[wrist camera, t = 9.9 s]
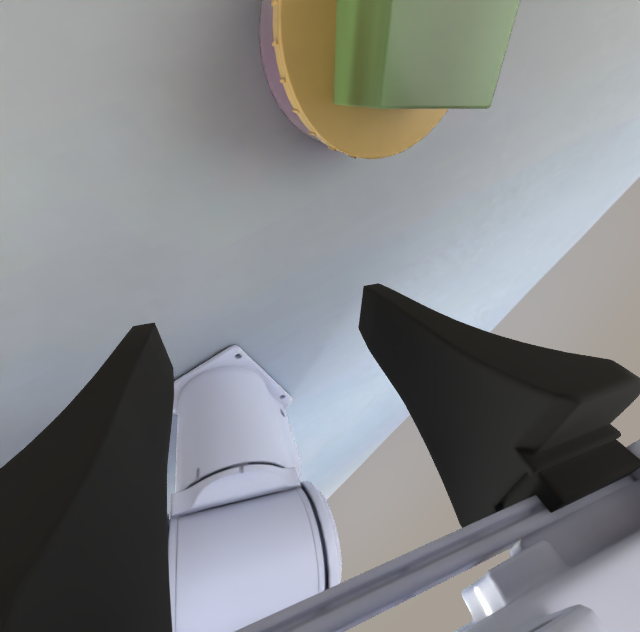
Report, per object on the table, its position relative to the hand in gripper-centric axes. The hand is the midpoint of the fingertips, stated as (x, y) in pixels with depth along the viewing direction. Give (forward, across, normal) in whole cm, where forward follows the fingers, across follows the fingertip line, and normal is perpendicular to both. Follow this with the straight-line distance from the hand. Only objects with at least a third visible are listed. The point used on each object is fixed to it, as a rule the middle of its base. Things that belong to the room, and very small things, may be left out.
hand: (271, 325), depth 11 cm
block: (+6, -6, -8) cm, 12 cm away
